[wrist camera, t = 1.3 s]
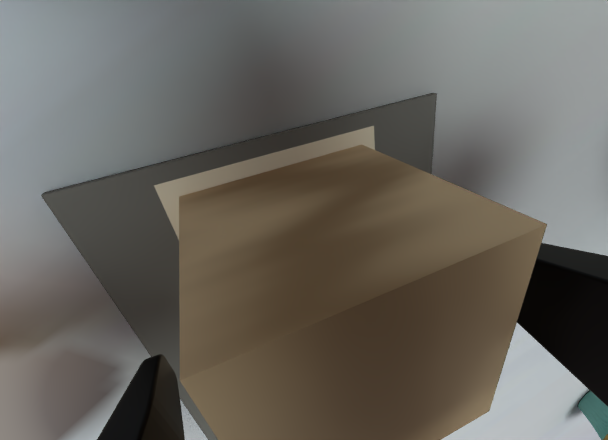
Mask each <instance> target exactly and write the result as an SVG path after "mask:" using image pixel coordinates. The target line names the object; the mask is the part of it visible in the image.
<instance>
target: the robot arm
mask: <svg viewBox="0 0 608 440" xmlns="http://www.w3.org/2000/svg"><path fill="white" fill-rule="evenodd" d="M517 323H518V324H519V325H521V326H522V327H523V328H524V329H525V330H526V331H527V332H528V333H529V334H530V335H531V336H532V337H533V338H534V339H536V340H537V341H538V342H539V343H540V344H541V345H542V346H543V347H544V348H545V349H546V350H547V351H548V352H549V353H551V354H552V355H553V356H554V357H555V358H556V359H557V360H558V361H559V362H560V363H561V364H562V365H563V366H565V367H566V368H567V369H568V370H569V371H570V372H571V373H572V374H573V375H574V376H575V377H576V378H577V379H578V380H580V381H581V382H582V383H583V384H584V385H585V386H586V387H587V388H588V389H589V390H590V391H591V392H592V393H593V394H595V395H596V396H597V397H598V398H599V399H600V400H601V401H602V402H603V403H604V404H605V405H606V406H607V407H608V256H605V255H600V254H595V253H590V252H585V251H579V250H574V249H569V248H564V247H559V246H554V245H549V244H544V243H541V245H540V249H539V252H538V255H537V258H536V261H535V265H534V268H533V271H532V274H531V278H530V281H529V284H528V287H527V291H526V294H525V297H524V300H523V303H522V307H521V310H520V313H519V316H518V320H517ZM97 440H185V439H184V430H183V422H182V413H181V405H180V397H179V388H178V381H177V377H176V374H175V372H174V370H173V369H172V367H171V366H170V364H169V363H168V361H167V359H166V358H165V357H164V355H162V354H158V355H155V356H153V357H150V358H148V359H146V360H144V361H143V362H142V364H141V365H140V367H139V369H138V370H137V372H136V374H135V376H134V377H133V379H132V381H131V382H130V384H129V386H128V388H127V389H126V391H125V393H124V394H123V396H122V398H121V400H120V401H119V403H118V405H117V406H116V408H115V410H114V412H113V413H112V415H111V417H110V418H109V420H108V422H107V424H106V425H105V427H104V429H103V430H102V432H101V434H100V436H99V437H98V439H97Z"/></svg>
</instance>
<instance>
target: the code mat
mask: <svg viewBox="0 0 608 440" xmlns="http://www.w3.org/2000/svg"><path fill="white" fill-rule="evenodd" d="M436 96H437V94H436V93H431V94H427V95H423V96H419V97H415V98H411V99H408V100H404V101H400V102H396V103H392V104H388V105H384V106H380V107H376V108H372V109H369V110H365V111H361V112H357V113H353V114H349V115H345V116H341V117H337V118H333V119H330V120H326V121H322V122H318V123H314V124H310V125H306V126H302V127H298V128H294V129H291V130H287V131H283V132H279V133H275V134H271V135H267V136H263V137H259V138H255V139H252V140H248V141H244V142H240V143H236V144H232V145H228V146H224V147H220V148H216V149H213V150H209V151H205V152H201V153H197V154H193V155H189V156H185V157H181V158H177V159H174V160H170V161H166V162H162V163H158V164H154V165H150V166H146V167H142V168H138V169H135V170H131V171H127V172H123V173H119V174H115V175H111V176H107V177H103V178H99V179H96V180H92V181H88V182H84V183H80V184H76V185H72V186H68V187H64V188H60V189H57V190H53V191H49V192H45V193H43V194H42V195H41V196H42V198H43V199H44V201H45V202H46V203H47V205H48V206H49V208H50V209H51V211H52V212H53V214H54V215H55V217H56V218H57V220H58V221H59V222H60V224H61V225H62V227H63V228H64V230H65V231H66V233H67V234H68V236H69V237H70V239H71V240H72V241H73V243H74V244H75V246H76V247H77V249H78V250H79V252H80V253H81V255H82V256H83V257H84V259H85V260H86V262H87V263H88V265H89V266H90V268H91V269H92V271H93V272H94V274H95V275H96V276H97V278H98V279H99V281H100V282H101V284H102V285H103V287H104V288H105V290H106V291H107V293H108V294H109V295H110V297H111V298H112V300H113V301H114V303H115V304H116V306H117V307H118V309H119V310H120V312H121V313H122V314H123V316H124V317H125V319H126V320H127V322H128V323H129V325H130V326H131V328H132V329H133V330H134V332H135V333H136V335H137V336H138V338H139V339H140V341H141V342H142V344H143V345H144V347H145V348H146V349H147V351H148V352H149V354H150V355H151V357H153V356H155V355H158V354H162V355H164V357H165V358H166V359H167V361H168V363H169V364H170V366H171V367H172V369H173V370H174V372H175V374H176V377H177V381H178V388H179V397H180V399H181V401H182V402H183V403H184V405H185V406H186V408H187V409H188V411H189V412H190V414H191V415H192V417H193V418H194V420H195V421H196V422H197V424H198V425H199V427H200V428H201V430H202V431H203V433H204V434H205V436H206V437H207V438H208V440H218V439H217V437H216V436H215V434H214V433H213V431H212V429H211V428H210V426H209V425H208V423H207V422H206V420H205V419H204V417H203V416H202V414H201V413H200V411H199V409H198V408H197V406H196V405H195V403H194V402H193V400H192V399H191V397H190V396H189V394H188V392H187V391H186V389H185V388H184V386H183V385H182V383H181V382H180V311H179V197H180V196H183V195H187V194H190V193H194V192H197V191H201V190H204V189H208V188H211V187H215V186H218V185H222V184H225V183H229V182H232V181H236V180H239V179H243V178H246V177H250V176H253V175H257V174H260V173H264V172H267V171H271V170H274V169H278V168H281V167H285V166H288V165H292V164H295V163H299V162H302V161H306V160H309V159H313V158H316V157H320V156H323V155H327V154H330V153H334V152H337V151H341V150H344V149H348V148H351V147H355V146H358V145H364V146H367V147H369V148H371V149H374V150H376V151H378V152H381V153H383V154H385V155H388V156H390V157H392V158H395V159H397V160H399V161H401V162H404V163H406V164H408V165H411V166H413V167H415V168H418V169H420V170H422V171H425V172H427V173H429V174H431V172H432V157H433V142H434V126H435V111H436Z"/></svg>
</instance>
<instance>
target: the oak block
mask: <svg viewBox="0 0 608 440" xmlns="http://www.w3.org/2000/svg"><path fill="white" fill-rule="evenodd" d="M546 226H547V224H545V223H543V222H540V221H538V220H536V219H534V218H531V217H529V216H527V215H524V214H522V213H520V212H517V211H515V210H513V209H510V208H508V207H506V206H503V205H501V204H499V203H496V202H494V201H492V200H489V199H487V198H485V197H483V196H480V195H478V194H476V193H473V192H471V191H469V190H466V189H464V188H462V187H459V186H457V185H455V184H452V183H450V182H448V181H445V180H443V179H441V178H439V177H436V176H434V175H432V174H429V173H427V172H425V171H422V170H420V169H418V168H415V167H413V166H411V165H408V164H406V163H404V162H401V161H399V160H397V159H395V158H392V157H390V156H388V155H385V154H383V153H381V152H378V151H376V150H374V149H371V148H369V147H367V146H364V145H358V146H355V147H351V148H348V149H344V150H341V151H337V152H334V153H330V154H327V155H323V156H320V157H316V158H313V159H309V160H306V161H302V162H299V163H295V164H292V165H288V166H285V167H281V168H278V169H274V170H271V171H267V172H264V173H260V174H257V175H253V176H250V177H246V178H243V179H239V180H236V181H232V182H229V183H225V184H222V185H218V186H215V187H211V188H208V189H204V190H201V191H197V192H194V193H190V194H187V195H183V196H180V197H179V311H180V382H181V383H182V385H183V386H184V388H185V389H186V391H187V392H188V394H189V396H190V397H191V399H192V400H193V402H194V403H195V405H196V406H197V408H198V409H199V411H200V413H201V414H202V416H203V417H204V419H205V420H206V422H207V423H208V425H209V426H210V428H211V429H212V431H213V433H214V434H215V436H216V437H217V439H218V440H441V439H442V438H444V437H446V436H448V435H449V434H451V433H453V432H454V431H456V430H458V429H459V428H461V427H463V426H465V425H466V424H468V423H470V422H471V421H473V420H475V419H477V418H478V417H480V416H482V415H483V414H485V413H487V412H488V411H489V410H490V407H491V403H492V400H493V397H494V394H495V391H496V387H497V384H498V381H499V378H500V374H501V371H502V368H503V365H504V362H505V358H506V355H507V352H508V349H509V345H510V342H511V339H512V336H513V332H514V329H515V326H516V323H517V320H518V316H519V313H520V310H521V307H522V303H523V300H524V297H525V294H526V291H527V287H528V284H529V281H530V278H531V274H532V271H533V268H534V265H535V261H536V258H537V255H538V252H539V249H540V245H541V242H542V239H543V236H544V232H545V229H546Z"/></svg>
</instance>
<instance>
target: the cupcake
mask: <svg viewBox="0 0 608 440" xmlns="http://www.w3.org/2000/svg"><path fill="white" fill-rule="evenodd" d="M578 407H579V409H580V410H581V411H582V412H583V414H584V415H585V416H586V417H587V419H588V420H589V421H590V423H591V424H592V426H593V427H594V429H595V430H596V432H597V433H598V435H599V437H600V438H601V440H608V407H607V406H606V405H605V404H604V403H603V402H602V401H601V400H600V399H599V398H598V397H597V396H596V395H595V394H593V393H592V392H591V391H589V392H588V393H587V394H586V395H585V396H584V397H583V398H582V399H581V401H580V402H579V404H578Z"/></svg>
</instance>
